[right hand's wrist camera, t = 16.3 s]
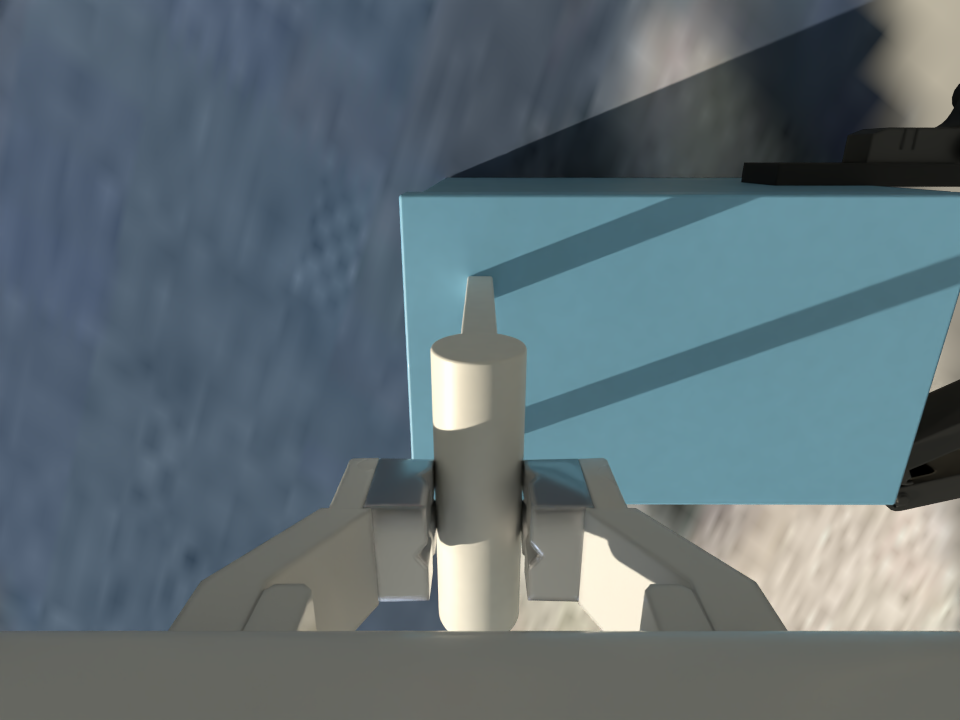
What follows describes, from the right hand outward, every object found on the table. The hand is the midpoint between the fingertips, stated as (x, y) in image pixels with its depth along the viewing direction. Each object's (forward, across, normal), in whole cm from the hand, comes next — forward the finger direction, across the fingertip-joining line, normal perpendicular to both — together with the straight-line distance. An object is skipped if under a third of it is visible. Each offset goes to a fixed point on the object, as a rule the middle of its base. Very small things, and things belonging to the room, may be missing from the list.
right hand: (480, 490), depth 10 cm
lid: (+8, +6, 0) cm, 10 cm away
